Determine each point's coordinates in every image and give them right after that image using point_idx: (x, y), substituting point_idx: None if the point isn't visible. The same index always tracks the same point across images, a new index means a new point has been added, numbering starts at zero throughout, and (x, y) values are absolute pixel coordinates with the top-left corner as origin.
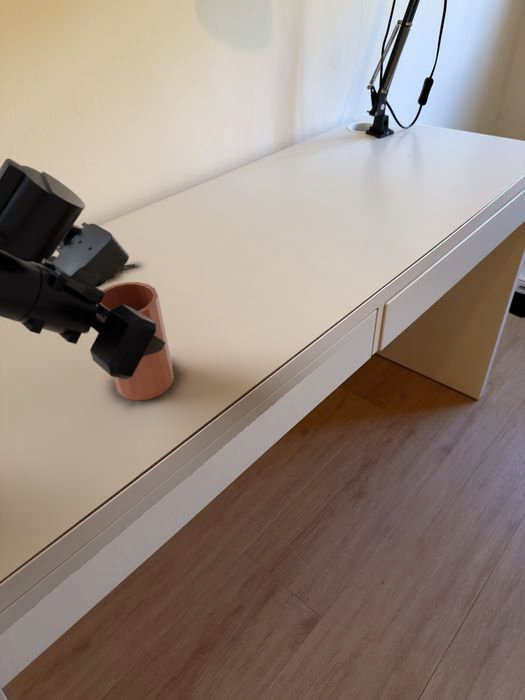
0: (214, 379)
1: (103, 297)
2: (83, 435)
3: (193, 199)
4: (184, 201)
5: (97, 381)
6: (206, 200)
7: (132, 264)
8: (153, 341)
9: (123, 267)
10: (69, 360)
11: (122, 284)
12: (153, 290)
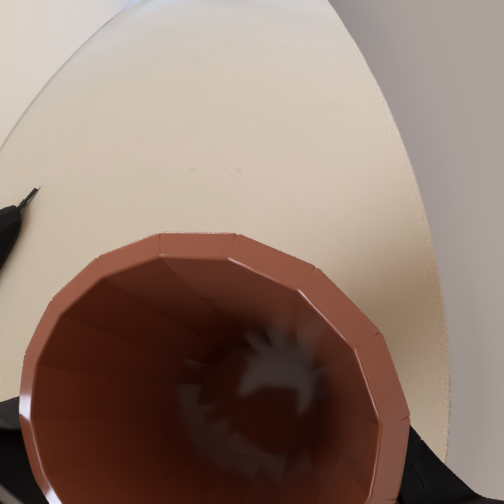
0: (375, 299)
1: (52, 444)
2: None
3: (55, 88)
4: (47, 96)
5: None
6: (68, 80)
7: (32, 190)
8: None
9: (25, 203)
10: None
11: (50, 325)
12: (252, 254)
